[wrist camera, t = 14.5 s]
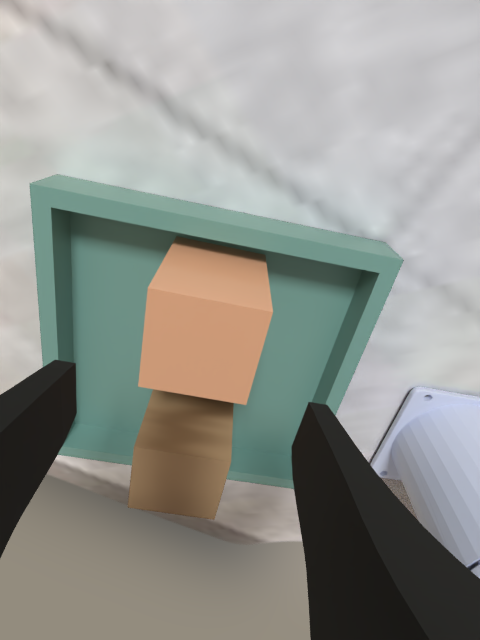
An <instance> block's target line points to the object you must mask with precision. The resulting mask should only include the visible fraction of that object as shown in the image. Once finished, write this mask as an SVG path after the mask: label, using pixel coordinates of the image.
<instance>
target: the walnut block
mask: <svg viewBox="0 0 480 640" xmlns="http://www.w3.org/2000/svg"><path fill="white" fill-rule="evenodd" d="M233 406H234V403H231V402H225V401H220V400H214V399H208V398H202V397H196V396H190V395H184V394H179V393H173V392H167V391H161V390H155V389H153V391H152V394H151V397H150V400H149V403H148V406H147V409H146V412H145V415H144V418H143V421H142V424H141V427H140V430H139V433H138V436H137V439H136V442H135V445H134V450H133V460H132V470H131V480H130V490H129V500H128V508H135V509H142V510H149V511H157V512H164V513H171V514H178V515H185V516H192V517H199V518H206V519H213V520H214V519H215V516H216V512H217V509H218V505H219V502H220V498H221V495H222V492H223V488H224V485H225V481H226V478H227V475H228V471H229V468H230V464H231V453H232V430H233Z"/></svg>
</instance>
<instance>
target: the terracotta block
mask: <svg viewBox="0 0 480 640" xmlns="http://www.w3.org/2000/svg"><path fill="white" fill-rule="evenodd" d="M272 314H273V308H272V301H271V293H270V286H269V278H268V271H267V264H266V256H265V255H264V254H259V253H254V252H250V251H245V250H240V249H235V248H230V247H226V246H221V245H216V244H211V243H207V242H202V241H197V240H192V239H187V238H183V237H178V236H176V238H175V240H174V242H173V243H172V245H171V247H170V249H169V251H168V252H167V254H166V256H165V258H164V260H163V261H162V263H161V265H160V267H159V269H158V270H157V272H156V274H155V276H154V277H153V279H152V281H151V283H150V285H149V286H148V291H147V301H146V311H145V321H144V331H143V342H142V352H141V362H140V372H139V382H138V387H144V388H149V389H155V390H161V391H167V392H173V393H179V394H184V395H190V396H196V397H202V398H208V399H214V400H220V401H225V402H231V403H237V404H243V405H246V404H247V400H248V397H249V393H250V390H251V387H252V383H253V380H254V376H255V373H256V369H257V366H258V362H259V359H260V355H261V352H262V349H263V345H264V342H265V338H266V335H267V331H268V328H269V324H270V321H271V318H272Z"/></svg>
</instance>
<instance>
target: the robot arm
mask: <svg viewBox="0 0 480 640" xmlns="http://www.w3.org/2000/svg"><path fill="white" fill-rule="evenodd" d="M426 395H428V396H427V397H425V396H426ZM76 414H77V399H76V363H73V362H67V361H60V360H54V361H52V362H50V363H49V364H47V365H46V366H44V367H43V368H41V369H40V370H38V371H37V372H35V373H33V374H32V375H30V376H29V377H27V378H26V379H24V380H23V381H21V382H20V383H18V384H17V385H15V386H14V387H12V388H11V389H9V390H7V391H6V392H4V393H3V394H1V395H0V558H1V555H2V553H3V551H4V549H5V547H6V545H7V542H8V541H9V538H10V536H11V534H12V532H13V530H14V528H15V527H16V525H17V523H18V521H19V519H20V517H21V516H22V514H23V512H24V510H25V509H26V507H27V505H28V504H29V502H30V500H31V499H32V497H33V495H34V494H35V492H36V490H37V489H38V487H39V485H40V483H41V482H42V480H43V478H44V477H45V475H46V473H47V472H48V470H49V468H50V467H51V465H52V463H53V462H54V460H55V458H56V456H57V455H58V453H59V451H60V449H61V448H62V446H63V444H64V442H65V440H66V438H67V435H68V433H69V431H70V428H71V426H72V424H73V421H74V419H75V417H76ZM291 449H292V476H293V484H294V491H295V497H296V504H297V510H298V516H299V522H300V528H301V534H302V541H303V547H304V553H305V561H306V570H307V583H308V597H309V598H308V599H309V615H310V635H311V640H480V397H477V396H471V395H465V394H460V393H454V392H448V391H442V390H437V389H431V388H425V387H416V388H414V389H412V390H411V391H410V393H409V395H408V397H407V398H406V400H405V402H404V404H403V406H402V407H401V409H400V411H399V413H398V415H397V417H396V418H395V420H394V422H393V424H392V426H391V427H390V429H389V431H388V433H387V435H386V437H385V438H384V440H383V442H382V444H381V446H380V447H379V449H378V451H377V453H376V455H375V457H374V458H373V460H372V462H371V464H369V463H368V461H367V460H366V459H365V457H364V456H363V455H362V453H361V452H360V451H359V449H358V448H357V446H356V445H355V444H354V442H353V441H352V439H351V438H350V437H349V435H348V434H347V432H346V431H345V429H344V428H343V427H342V425H341V424H340V422H339V421H338V419H337V418H336V416H335V415H334V413H333V412H332V411H331V409H330V408H329V406H328V405H325V404H319V403H313V402H308V405H307V408H306V410H305V413H304V415H303V418H302V421H301V423H300V426H299V428H298V431H297V434H296V436H295V439H294V441H293V444H292V447H291ZM381 478H387V479H394V480H400V481H402V483H403V486H404V488H405V490H406V493H407V495H408V498H409V500H410V502H411V505H412V507H413V509H414V512H415V514H416V517H417V519H418V520H417V519H416V518H415V517H414V516H413V515H412V514H411V513H410V511H409V510H408V509H407V508H406V507H405V506H404V505H403V504H402V503H401V502H400V501H399V499H398V498H397V497H396V496H395V495H394V494H393V493H392V491H391V490H390V489H389V488H388V486H387V485H386V484H385V483H384V482H383V480H382V479H381Z"/></svg>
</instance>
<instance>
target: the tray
mask: <svg viewBox="0 0 480 640" xmlns="http://www.w3.org/2000/svg"><path fill="white" fill-rule="evenodd" d="M30 196H31V209H32V223H33V236H34V250H35V264H36V277H37V291H38V304H39V318H40V331H41V345H42V359H43V367H44V366H46V365H47V364H49V363H50V362H52V361H54V360H60V361H67V362H73V363H76V399H77V414H76V417H75V419H74V421H73V424H72V426H71V428H70V431H69V433H68V435H67V438H66V440H65V442H64V444H63V446H62V448H61V449H60V451H59V453H58V455H64V456H71V457H78V458H84V459H91V460H98V461H105V462H112V463H119V464H126V465H132V460H133V450H134V445H135V442H136V439H137V436H138V433H139V430H140V427H141V424H142V421H143V418H144V415H145V412H146V409H147V406H148V403H149V400H150V397H151V394H152V391H153V389H149V388H144V387H138V382H139V372H140V362H141V352H142V342H143V331H144V321H145V311H146V301H147V291H148V286H149V285H150V283H151V281H152V279H153V277H154V276H155V274H156V272H157V270H158V269H159V267H160V265H161V263H162V261H163V260H164V258H165V256H166V254H167V252H168V251H169V249H170V247H171V245H172V243H173V242H174V240H175V238H176V236H178V237H183V238H187V239H192V240H197V241H202V242H207V243H211V244H216V245H221V246H226V247H230V248H235V249H240V250H245V251H250V252H254V253H259V254H264V255H265V256H266V264H267V271H268V278H269V286H270V293H271V301H272V308H273V314H272V318H271V321H270V324H269V328H268V331H267V335H266V338H265V342H264V345H263V349H262V352H261V355H260V359H259V362H258V366H257V369H256V373H255V376H254V380H253V383H252V387H251V390H250V393H249V397H248V400H247V404H246V405H243V404H237V403H234V406H233V430H232V453H231V464H230V468H229V471H228V475H227V478H226V479H229V480H236V481H243V482H250V483H257V484H264V485H271V486H278V487H284V488H291V489H294V484H293V476H292V449H291V447H292V444H293V441H294V439H295V436H296V434H297V431H298V428H299V426H300V423H301V421H302V418H303V415H304V413H305V410H306V408H307V405H308V402H313V403H319V404H325V405H328V406H329V408H330V409H331V411H332V412H333V413H334V415H336V413H337V410H338V408H339V406H340V404H341V401H342V399H343V397H344V395H345V392H346V390H347V388H348V385H349V383H350V381H351V379H352V376H353V374H354V372H355V370H356V367H357V365H358V363H359V361H360V358H361V356H362V354H363V351H364V349H365V347H366V345H367V342H368V340H369V338H370V336H371V333H372V331H373V329H374V326H375V324H376V322H377V320H378V317H379V315H380V313H381V311H382V308H383V306H384V304H385V302H386V299H387V297H388V295H389V292H390V290H391V288H392V286H393V283H394V281H395V279H396V277H397V274H398V272H399V270H400V267H401V265H402V263H403V261H404V260H403V259H402V258H401V257H400V256H399V255H398V254H397V253H396V252H395V251H394V250H393V249H392V248H391V247H389V246H388V245H387V244H386V243H385V242H381V241H376V240H371V239H366V238H361V237H356V236H352V235H347V234H342V233H337V232H332V231H328V230H323V229H318V228H313V227H308V226H303V225H299V224H294V223H289V222H284V221H279V220H275V219H270V218H265V217H260V216H255V215H251V214H246V213H241V212H236V211H231V210H226V209H222V208H217V207H212V206H207V205H202V204H198V203H193V202H188V201H183V200H178V199H173V198H169V197H164V196H159V195H154V194H149V193H145V192H140V191H135V190H130V189H125V188H120V187H116V186H111V185H106V184H101V183H96V182H92V181H87V180H82V179H77V178H72V177H68V176H63V175H58V174H57V175H54V176H51V177H48V178H45V179H42V180H39V181H36V182H33V183H30Z"/></svg>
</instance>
